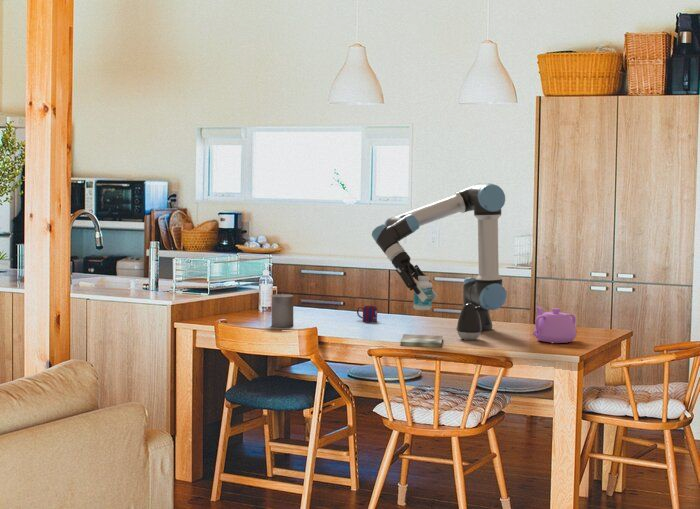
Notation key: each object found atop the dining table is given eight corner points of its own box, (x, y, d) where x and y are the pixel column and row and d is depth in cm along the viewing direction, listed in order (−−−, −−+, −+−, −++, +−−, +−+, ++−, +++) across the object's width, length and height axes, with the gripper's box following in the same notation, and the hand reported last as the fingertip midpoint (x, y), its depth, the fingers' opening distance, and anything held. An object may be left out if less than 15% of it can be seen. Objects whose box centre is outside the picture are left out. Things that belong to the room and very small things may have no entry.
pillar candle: (286, 323, 422) (286, 290, 421) (297, 326, 414) (297, 292, 413) (267, 325, 417) (267, 291, 416) (278, 328, 409) (278, 294, 408)
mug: (372, 322, 432) (372, 308, 432) (353, 320, 438) (354, 306, 438) (379, 321, 438) (380, 306, 438) (361, 319, 444) (362, 304, 443)
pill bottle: (418, 310, 378) (419, 277, 377) (410, 308, 384) (411, 275, 383) (434, 310, 380) (435, 277, 379) (426, 308, 387) (427, 275, 386)
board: (442, 339, 387) (442, 335, 387) (441, 347, 367) (441, 343, 367) (403, 337, 389) (403, 334, 389) (400, 345, 369) (400, 341, 369)
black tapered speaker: (475, 342, 382) (476, 305, 381) (452, 339, 387) (453, 303, 386) (485, 339, 390) (486, 302, 389) (462, 336, 396) (463, 300, 395)
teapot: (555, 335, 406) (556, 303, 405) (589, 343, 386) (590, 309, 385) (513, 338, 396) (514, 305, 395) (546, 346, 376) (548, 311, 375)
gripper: (406, 261, 398) (437, 303, 390) (378, 263, 382) (410, 307, 374) (417, 249, 395) (449, 291, 386) (389, 251, 379) (422, 294, 370)
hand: (430, 298), depth 380 cm, fingers closed on pill bottle, 7 cm apart
